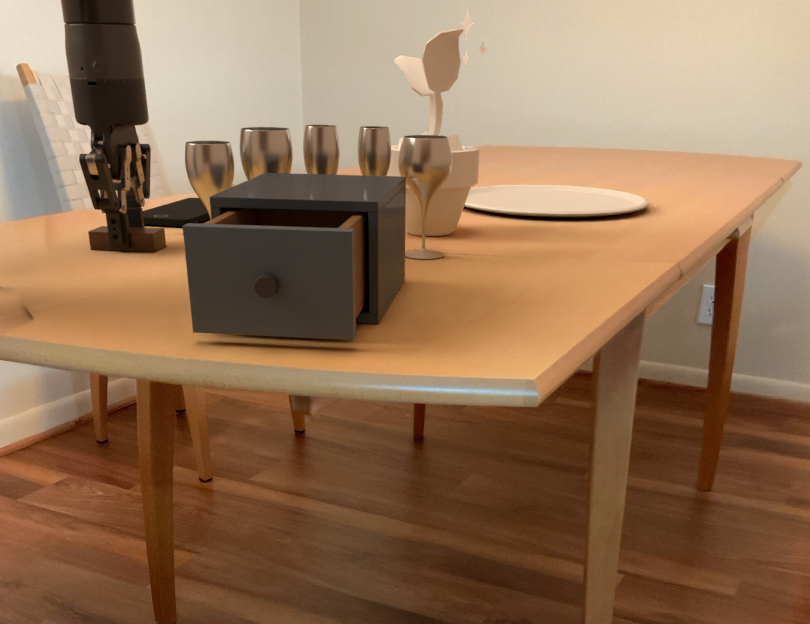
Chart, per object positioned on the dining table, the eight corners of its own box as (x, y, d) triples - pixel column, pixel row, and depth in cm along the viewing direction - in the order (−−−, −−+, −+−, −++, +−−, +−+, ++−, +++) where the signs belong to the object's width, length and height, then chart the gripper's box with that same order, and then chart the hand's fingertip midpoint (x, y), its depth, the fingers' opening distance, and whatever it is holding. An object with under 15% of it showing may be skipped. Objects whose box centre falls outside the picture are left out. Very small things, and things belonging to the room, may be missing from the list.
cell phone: (125, 223, 117) (124, 215, 116) (190, 204, 132) (189, 197, 132) (188, 227, 115) (187, 219, 114) (247, 207, 130) (246, 200, 130)
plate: (688, 208, 135) (689, 199, 134) (562, 229, 117) (563, 219, 117) (536, 187, 154) (537, 179, 153) (409, 203, 136) (409, 194, 136)
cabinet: (378, 324, 76) (378, 201, 71) (219, 317, 77) (209, 196, 73) (404, 280, 90) (405, 176, 86) (270, 275, 92) (264, 172, 87)
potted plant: (494, 236, 112) (506, 0, 100) (410, 243, 107) (413, -4, 96) (442, 221, 122) (448, 4, 110) (363, 227, 117) (361, 1, 105)
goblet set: (200, 275, 91) (186, 129, 85) (190, 264, 96) (177, 125, 90) (457, 258, 100) (462, 125, 94) (437, 248, 105) (440, 121, 99)
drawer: (350, 344, 67) (348, 234, 63) (187, 337, 68) (176, 228, 65) (384, 292, 82) (384, 200, 78) (249, 287, 83) (243, 196, 79)
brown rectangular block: (154, 252, 101) (152, 233, 100) (90, 249, 102) (87, 231, 101) (166, 246, 105) (164, 228, 104) (104, 244, 105) (101, 225, 104)
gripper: (101, 72, 102) (122, 233, 110) (39, 75, 89) (68, 256, 97) (165, 73, 101) (182, 235, 109) (113, 76, 88) (135, 258, 97)
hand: (128, 244), depth 103 cm, fingers closed on brown rectangular block, 3 cm apart
